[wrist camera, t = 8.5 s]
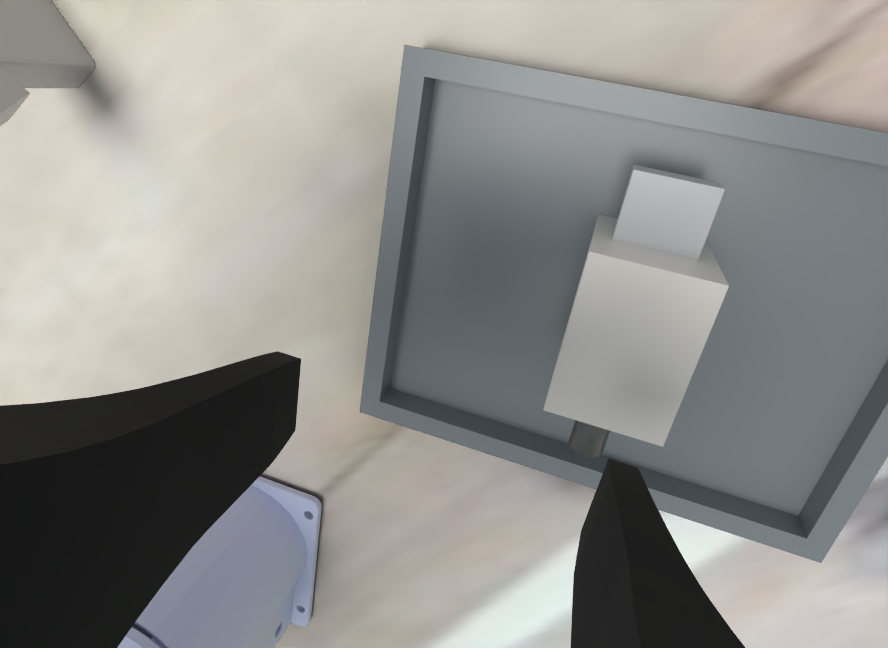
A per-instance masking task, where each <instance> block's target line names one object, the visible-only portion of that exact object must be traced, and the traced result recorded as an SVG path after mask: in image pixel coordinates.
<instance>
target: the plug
mask: <svg viewBox="0 0 888 648" xmlns="http://www.w3.org/2000/svg"><path fill="white" fill-rule="evenodd" d="M724 190H725V189H724V187H723V186H722V185H721V184H720V183H719V182H714V181H710V180H705V179H700V178H695V177H691V176H686V175H681V174H676V173H672V172H667V171H662V170H658V169H653V168H648V167H643V166H639V165H634V164H633V167H632V171H631V174H630V177H629V181H628V184H627V187H626V190H625V194H624V197H623V200H622V204H621V207H620V210H619V214H618V217H617V218H614V217H609V216H605V215H601V214H599V215H598V218H597V222H596V225H595V229H594V232H593V236H592V239H591V243H590V246H589V249H588V253H587V256H586V260H585V263H584V267H583V270H582V274H581V277H580V281H579V284H578V288H577V291H576V295H575V298H574V302H573V305H572V308H571V312H570V315H569V319H568V322H567V326H566V329H565V333H564V336H563V340H562V343H561V347H560V350H559V354H558V358H557V361H556V365H555V369H554V372H553V376H552V380H551V383H550V387H549V391H548V394H547V398H546V402H545V405H544V409H543V410H544V411H547V412H551V413H554V414H557V415H561V416H564V417H567V418H570V419H574V420H575V423H574V426H573V429H572V432H571V435H570V438H569V445H570V447H571V448H572V449H573V450H574V451H575V452H577V453H578V454H580V455H583V456H586V457H599V456H601V455H602V453H603V450H604V447H605V445H606V442H607V439H608V436H609V433H610V431H613V432H616V433H619V434H623V435H626V436H629V437H632V438H636V439H639V440H642V441H645V442H649V443H652V444H655V445H658V446H662V447H663V446H664V443H665V441H666V438H667V436H668V433H669V431H670V429H671V426H672V424H673V421H674V419H675V416H676V414H677V411H678V409H679V407H680V404H681V402H682V399H683V397H684V394H685V392H686V390H687V387H688V385H689V382H690V380H691V377H692V375H693V373H694V370H695V368H696V365H697V363H698V360H699V358H700V355H701V353H702V351H703V348H704V346H705V343H706V341H707V338H708V336H709V334H710V331H711V329H712V326H713V324H714V321H715V319H716V317H717V314H718V312H719V309H720V307H721V304H722V302H723V300H724V297H725V295H726V292H727V290H728V287H729V285H728V283H727V281H726V279H725V277H724V275H723V273H722V271H721V269H720V267H719V265H718V263H717V261H716V258H715V256H714V254H713V252H712V250H711V248H710V246H709V244H708V242H707V240H706V238H707V235H708V233H709V230H710V228H711V225H712V222H713V220H714V217H715V214H716V212H717V209H718V206H719V204H720V201H721V198H722V196H723V193H724Z"/></svg>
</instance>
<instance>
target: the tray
mask: <svg viewBox="0 0 888 648" xmlns="http://www.w3.org/2000/svg"><path fill="white" fill-rule="evenodd" d="M633 164H634V165H639V166H643V167H648V168H653V169H658V170H662V171H667V172H672V173H676V174H681V175H686V176H691V177H695V178H700V179H705V180H710V181H714V182H719V183H720V184H721V185H722V186H723V187H724V189H725V190H724V193H723V196H722V198H721V201H720V204H719V206H718V209H717V212H716V214H715V217H714V220H713V222H712V225H711V228H710V230H709V233H708V235H707V238H706V240H707V242H708V244H709V246H710V248H711V250H712V252H713V254H714V256H715V258H716V261H717V263H718V265H719V267H720V269H721V271H722V273H723V275H724V277H725V279H726V281H727V283H728V285H729V287H728V290H727V292H726V295H725V297H724V300H723V302H722V304H721V307H720V309H719V312H718V314H717V317H716V319H715V321H714V324H713V326H712V329H711V331H710V334H709V336H708V338H707V341H706V343H705V346H704V348H703V351H702V353H701V355H700V358H699V360H698V363H697V365H696V368H695V370H694V373H693V375H692V377H691V380H690V382H689V385H688V387H687V390H686V392H685V394H684V397H683V399H682V402H681V404H680V407H679V409H678V411H677V414H676V416H675V419H674V421H673V424H672V426H671V429H670V431H669V433H668V436H667V438H666V441H665V443H664V446H663V447H662V446H658V445H655V444H652V443H649V442H645V441H642V440H639V439H636V438H632V437H629V436H626V435H623V434H619V433H616V432H613V431H610V433H609V436H608V439H607V442H606V445H605V447H604V450H603V453H602V455H601V456H599V457H586V456H583V455H580V454H578V453H577V452H575V451H574V450H573V449H572V448H571V447H570V445H569V438H570V435H571V432H572V429H573V426H574V423H575V420H574V419H570V418H567V417H564V416H561V415H557V414H554V413H551V412H547V411H544V410H543V409H544V405H545V402H546V398H547V394H548V391H549V387H550V383H551V380H552V376H553V372H554V369H555V365H556V361H557V358H558V354H559V350H560V347H561V343H562V340H563V336H564V333H565V329H566V326H567V322H568V319H569V315H570V312H571V308H572V305H573V302H574V298H575V295H576V291H577V288H578V284H579V281H580V277H581V274H582V270H583V267H584V263H585V260H586V256H587V253H588V249H589V246H590V243H591V239H592V236H593V232H594V229H595V225H596V222H597V218H598V215H599V214H601V215H605V216H609V217H614V218H617V217H618V214H619V210H620V207H621V204H622V200H623V197H624V194H625V190H626V187H627V184H628V181H629V177H630V174H631V171H632V167H633ZM360 412H362V413H365V414H368V415H371V416H374V417H377V418H380V419H383V420H386V421H389V422H392V423H395V424H399V425H402V426H405V427H408V428H411V429H414V430H417V431H420V432H423V433H426V434H429V435H432V436H435V437H438V438H441V439H444V440H447V441H450V442H454V443H457V444H460V445H463V446H466V447H469V448H472V449H475V450H478V451H481V452H484V453H487V454H490V455H493V456H496V457H499V458H502V459H505V460H508V461H512V462H515V463H518V464H521V465H524V466H527V467H530V468H533V469H536V470H539V471H542V472H545V473H548V474H551V475H554V476H557V477H560V478H563V479H566V480H570V481H573V482H576V483H579V484H582V485H585V486H588V487H591V488H594V489H597V488H598V485H599V482H600V480H601V477H602V474H603V472H604V469H605V466H606V464H607V461H608V458H609V459H613V460H616V461H619V462H622V463H625V464H628V465H631V466H634V467H637V468H638V469H639V470H640V472H641V474H642V476H643V479H644V481H645V483H646V485H647V487H648V490H649V492H650V494H651V496H652V498H653V500H654V502H655V505H656V507H657V509H658V510H661V511H664V512H667V513H670V514H673V515H676V516H679V517H683V518H686V519H689V520H692V521H695V522H698V523H701V524H704V525H707V526H710V527H713V528H716V529H719V530H722V531H725V532H728V533H731V534H734V535H737V536H741V537H744V538H747V539H750V540H753V541H756V542H759V543H762V544H765V545H768V546H771V547H774V548H777V549H780V550H783V551H786V552H789V553H792V554H796V555H799V556H802V557H805V558H808V559H811V560H814V561H817V562H820V563H821V562H822V561H823V559H824V558H825V556H826V554H827V553H828V551H829V550H830V548H831V546H832V545H833V543H834V542H835V540H836V538H837V537H838V535H839V534H840V532H841V530H842V529H843V527H844V526H845V524H846V522H847V521H848V519H849V518H850V516H851V514H852V513H853V511H854V510H855V508H856V506H857V505H858V503H859V502H860V500H861V498H862V497H863V495H864V494H865V492H866V490H867V489H868V487H869V486H870V484H871V482H872V481H873V479H874V477H875V476H876V474H877V473H878V471H879V469H880V468H881V466H882V465H883V463H884V461H885V460H886V458H887V457H888V133H884V132H879V131H873V130H868V129H862V128H857V127H851V126H846V125H840V124H835V123H829V122H824V121H819V120H813V119H808V118H802V117H797V116H791V115H786V114H780V113H775V112H769V111H764V110H758V109H753V108H747V107H742V106H737V105H731V104H726V103H720V102H715V101H709V100H704V99H698V98H693V97H687V96H682V95H676V94H671V93H665V92H660V91H655V90H649V89H644V88H638V87H633V86H627V85H622V84H616V83H611V82H605V81H600V80H594V79H589V78H584V77H578V76H573V75H567V74H562V73H556V72H551V71H545V70H540V69H534V68H529V67H523V66H518V65H512V64H507V63H502V62H496V61H491V60H485V59H480V58H474V57H469V56H463V55H458V54H452V53H447V52H441V51H436V50H430V49H425V48H420V47H414V46H409V45H404V53H403V61H402V69H401V77H400V85H399V94H398V102H397V110H396V118H395V126H394V135H393V143H392V151H391V159H390V167H389V176H388V184H387V192H386V200H385V208H384V217H383V225H382V233H381V241H380V249H379V257H378V266H377V274H376V282H375V290H374V298H373V307H372V315H371V323H370V331H369V339H368V348H367V356H366V364H365V372H364V380H363V389H362V397H361V405H360Z"/></svg>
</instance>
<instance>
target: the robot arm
mask: <svg viewBox="0 0 888 648" xmlns="http://www.w3.org/2000/svg"><path fill="white" fill-rule="evenodd" d="M300 364H301V359H300V358H296V357H293V356H290V355H287V354H284V353H281V352H273V353H268V354H264V355H261V356H257V357H253V358H250V359H246V360H243V361H240V362H236V363H233V364H230V365H226V366H223V367H220V368H216V369H213V370H209V371H206V372H203V373H199V374H196V375H192V376H188V377H184V378H180V379H176V380H172V381H169V382H165V383H161V384H157V385H153V386H149V387H144V388H140V389H135V390H130V391H125V392H119V393H113V394H108V395H102V396H96V397H89V398H80V399H72V400H63V401H54V402H46V403H36V404H22V405H6V406H0V648H274V647H275V646H276V644H277V643H278V641H279V640H280V638H281V636H282V635H283V633H284V632H285V630H286V629H287V627H288V625H289V624H290V623H292V624H295V625H297V626H300V627H306V626H308V624H309V622H310V620H311V612H312V602H313V591H314V581H315V571H316V560H317V550H318V539H319V529H320V519H321V508H322V506H321V502H320V501H319V499H318V498H316V497H314V496H312V495H309V494H307V493H304V492H301V491H298V490H296V489H293V488H290V487H288V486H285V485H282V484H279V483H277V482H274V481H271V480H268V479H266V478H263V477H260V475H261V474H262V473H263V472H264V471H265V470H266V469H267V468H268V467H269V466H270V464H271V463H272V462H273V461H274V459H275V458H276V457H277V455H278V454H279V453H280V451H281V450H282V449H283V447H284V446H285V444H286V443H287V441H288V440H289V439H290V437H291V436H292V434H293V433H294V431H295V427H296V414H297V402H298V389H299V377H300ZM310 512H311V513H312V514H311V513H310ZM571 648H745V647H744V645H743V644H742V643H741V642H740V640H739V639H738V638H737V636H736V635H735V634H734V633H733V631H732V630H731V629H730V627H729V626H728V624H727V623H726V622H725V620H724V619H723V618H722V616H721V615H720V613H719V612H718V611H717V609H716V608H715V607H714V605H713V604H712V602H711V601H710V600H709V598H708V597H707V595H706V594H705V592H704V591H703V589H702V588H701V586H700V585H699V583H698V581H697V580H696V578H695V576H694V575H693V573H692V572H691V570H690V568H689V567H688V565H687V563H686V562H685V560H684V558H683V556H682V555H681V553H680V551H679V549H678V547H677V546H676V544H675V542H674V540H673V538H672V536H671V534H670V532H669V531H668V529H667V527H666V525H665V523H664V521H663V519H662V517H661V515H660V513H659V511H658V509H657V507H656V505H655V502H654V500H653V498H652V496H651V494H650V492H649V490H648V487H647V485H646V483H645V481H644V479H643V476H642V474H641V472H640V470H639V469H638V468H637V467H634V466H631V465H628V464H625V463H622V462H619V461H616V460H613V459H609V458H608V461H607V464H606V466H605V469H604V472H603V474H602V477H601V480H600V482H599V485H598V488H597V490H596V493H595V496H594V498H593V501H592V504H591V506H590V509H589V512H588V514H587V517H586V520H585V522H584V525H583V528H582V530H581V535H580V541H579V547H578V553H577V559H576V565H575V571H574V585H573V607H572V631H571Z"/></svg>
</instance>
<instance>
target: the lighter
mask: <svg viewBox="0 0 888 648" xmlns="http://www.w3.org/2000/svg"><path fill="white" fill-rule="evenodd" d="M94 68H95V61H94V60H93V59H92V57H91V56H90V54H89V53H88V52H87V50H86V49H85V47H84V46H83V44H82V43H81V42H80V40H79V39H78V37H77V36H76V35H75V33H74V32H73V30H72V29H71V27H70V26H69V25H68V23H67V22H66V20H65V19H64V18H63V16H62V15H61V13H60V12H59V10H58V9H57V8H56V6H55V5H54V3H53V2H52V1H51V0H0V126H1V125H3V124H4V123H5V122H7V121H8V120H9V119H10V118H11V117H12V116H13V115H14V113H15V112H16V111H17V109H18V108H19V107H20V106H21V104H22V103H23V102H24V101H25V99H26V98H27V97H28V95H29V94H30V93H29V92H28V91H27V90H25V89H24V88H78V87H79V86H80V85H81V84H82V83H83V82H84V80H85V79H86V78H87V77H88V76H89V74H90V73H91V72H92V71H93V70H94Z"/></svg>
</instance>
